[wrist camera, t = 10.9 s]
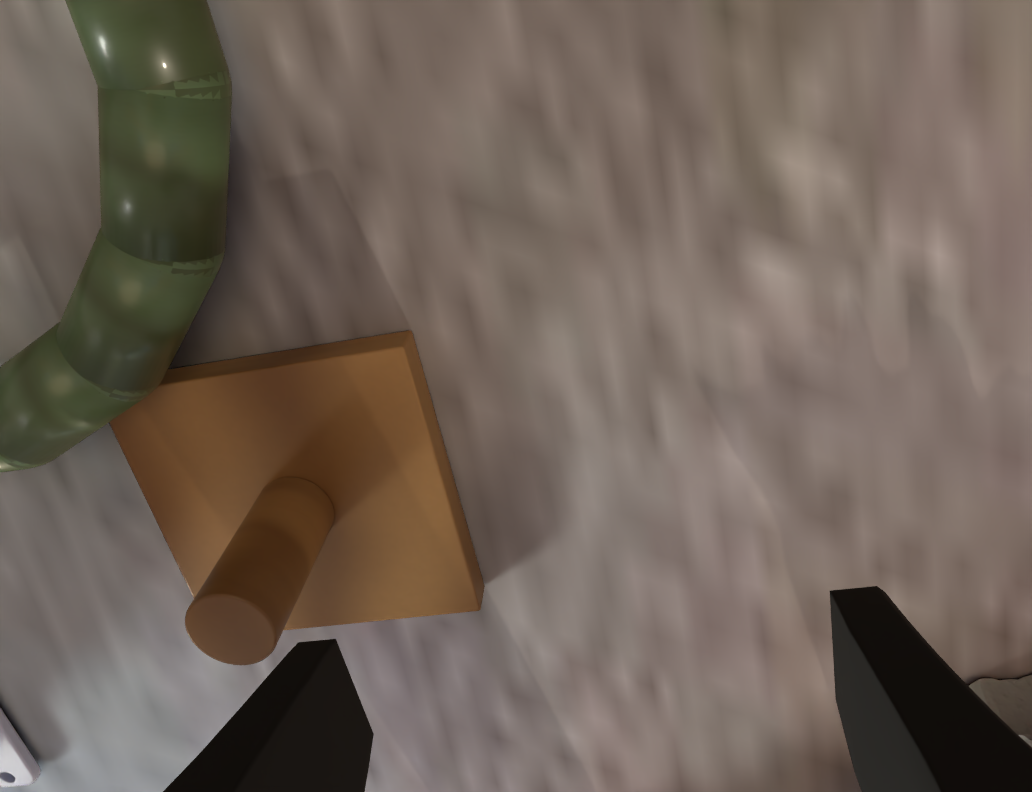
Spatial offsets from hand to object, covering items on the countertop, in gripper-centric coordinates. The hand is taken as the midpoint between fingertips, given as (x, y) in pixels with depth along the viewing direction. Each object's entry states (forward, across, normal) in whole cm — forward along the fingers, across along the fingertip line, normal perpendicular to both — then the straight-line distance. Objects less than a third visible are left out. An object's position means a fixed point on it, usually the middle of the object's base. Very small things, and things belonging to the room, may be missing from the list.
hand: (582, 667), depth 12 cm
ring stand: (+9, +8, +2) cm, 13 cm away
